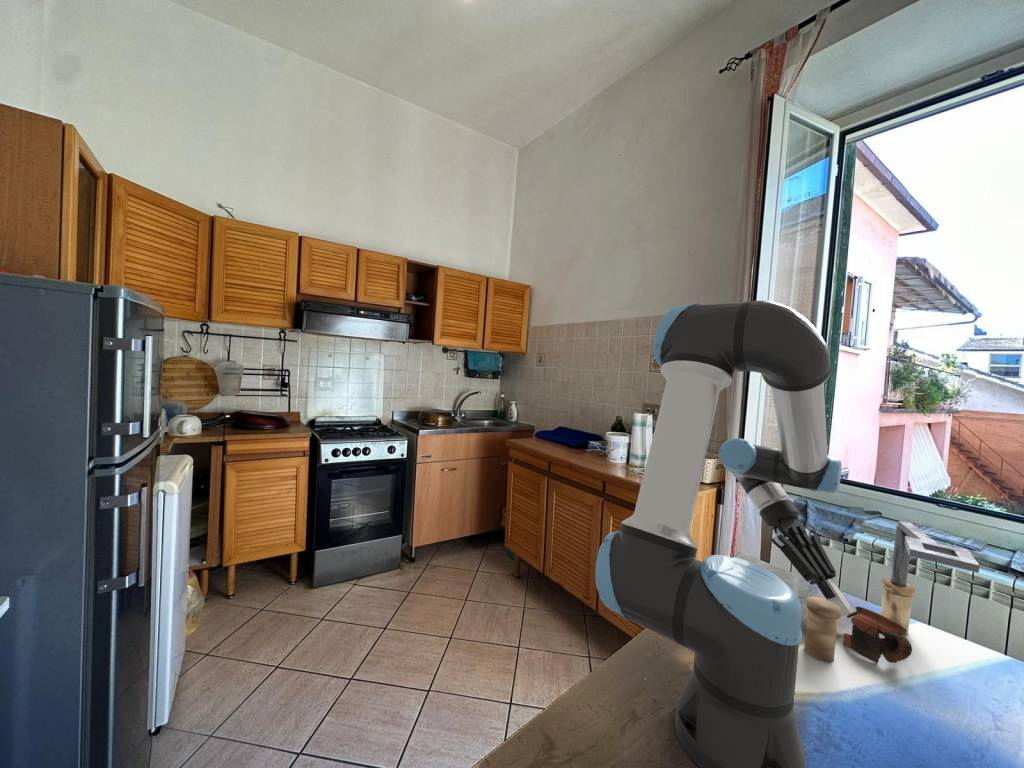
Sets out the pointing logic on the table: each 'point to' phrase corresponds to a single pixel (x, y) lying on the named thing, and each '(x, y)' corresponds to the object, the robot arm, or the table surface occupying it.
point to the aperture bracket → (907, 545)
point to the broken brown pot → (877, 637)
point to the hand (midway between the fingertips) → (846, 614)
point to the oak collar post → (821, 628)
